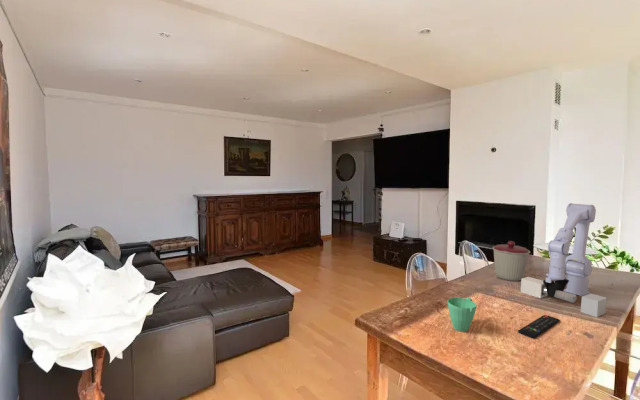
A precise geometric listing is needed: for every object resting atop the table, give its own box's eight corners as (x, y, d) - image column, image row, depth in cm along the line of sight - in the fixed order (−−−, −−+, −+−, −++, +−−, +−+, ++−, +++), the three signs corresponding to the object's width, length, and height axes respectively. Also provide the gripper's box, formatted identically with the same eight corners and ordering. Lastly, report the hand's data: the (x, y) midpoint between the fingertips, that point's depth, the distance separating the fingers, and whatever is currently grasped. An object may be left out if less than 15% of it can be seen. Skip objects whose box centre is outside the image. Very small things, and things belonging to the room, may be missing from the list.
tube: (524, 286, 158) (524, 279, 158) (576, 302, 139) (576, 294, 139) (520, 287, 157) (520, 280, 156) (572, 303, 137) (572, 295, 137)
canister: (528, 276, 179) (530, 240, 177) (528, 286, 164) (531, 246, 162) (492, 271, 188) (493, 236, 187) (489, 279, 173) (491, 242, 172)
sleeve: (527, 289, 158) (528, 276, 158) (547, 295, 150) (548, 282, 150) (520, 291, 155) (521, 278, 155) (540, 298, 147) (541, 284, 147)
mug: (470, 338, 110) (472, 310, 110) (442, 329, 117) (443, 303, 116) (481, 323, 121) (483, 298, 121) (455, 316, 128) (456, 292, 127)
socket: (589, 308, 137) (590, 293, 136) (605, 313, 132) (606, 297, 131) (580, 311, 133) (581, 296, 132) (596, 317, 128) (598, 301, 128)
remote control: (517, 334, 115) (518, 330, 115) (544, 317, 128) (544, 314, 128) (534, 340, 110) (534, 336, 110) (560, 322, 124) (560, 319, 124)
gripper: (555, 262, 151) (553, 290, 152) (539, 266, 144) (537, 295, 145) (572, 266, 144) (570, 294, 145) (556, 270, 137) (554, 300, 138)
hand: (555, 295), depth 145 cm, fingers open, 7 cm apart
